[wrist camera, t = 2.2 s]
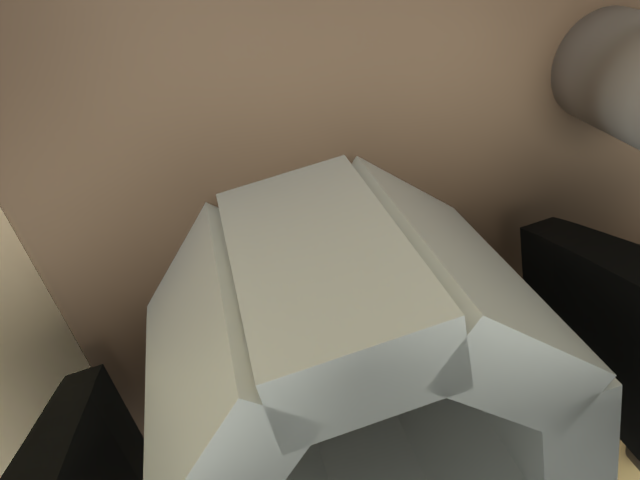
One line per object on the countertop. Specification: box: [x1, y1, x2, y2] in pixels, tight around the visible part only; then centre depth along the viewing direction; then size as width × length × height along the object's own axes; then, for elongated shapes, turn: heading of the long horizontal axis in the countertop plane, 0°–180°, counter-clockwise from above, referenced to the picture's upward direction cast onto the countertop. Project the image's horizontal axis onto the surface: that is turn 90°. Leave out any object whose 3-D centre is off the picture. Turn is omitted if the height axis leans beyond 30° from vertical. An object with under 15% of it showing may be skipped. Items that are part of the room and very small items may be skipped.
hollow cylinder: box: [143, 155, 622, 480], centre depth 9 cm, size 6×6×4 cm
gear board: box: [0, 0, 640, 480], centre depth 11 cm, size 22×13×4 cm, turn 13°
